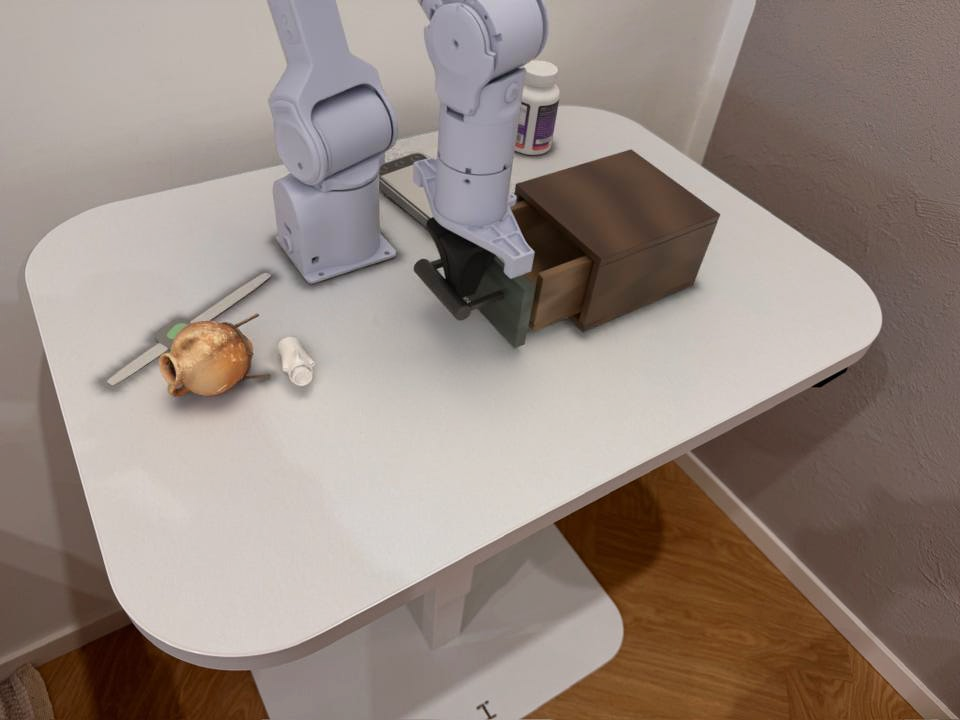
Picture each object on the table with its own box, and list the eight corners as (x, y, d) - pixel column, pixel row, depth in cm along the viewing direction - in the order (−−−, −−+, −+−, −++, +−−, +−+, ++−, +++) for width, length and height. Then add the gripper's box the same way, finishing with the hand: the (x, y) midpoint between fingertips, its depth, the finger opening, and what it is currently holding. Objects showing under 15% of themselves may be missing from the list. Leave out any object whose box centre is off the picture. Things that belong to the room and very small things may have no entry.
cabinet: (582, 332, 69) (601, 259, 63) (504, 256, 76) (515, 183, 69) (693, 284, 75) (721, 214, 69) (612, 218, 82) (631, 148, 76)
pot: (246, 377, 64) (285, 378, 60) (156, 405, 59) (192, 409, 54) (229, 311, 63) (268, 307, 59) (136, 333, 58) (171, 331, 53)
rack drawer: (466, 369, 63) (473, 310, 58) (400, 290, 69) (401, 231, 64) (628, 301, 71) (646, 244, 66) (556, 236, 77) (567, 179, 72)
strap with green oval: (255, 263, 70) (279, 277, 69) (256, 267, 71) (279, 280, 70) (95, 371, 60) (120, 388, 59) (96, 374, 60) (121, 392, 59)
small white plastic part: (324, 346, 65) (322, 319, 62) (312, 397, 60) (309, 371, 58) (282, 342, 64) (279, 316, 62) (267, 394, 60) (263, 367, 58)
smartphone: (419, 150, 86) (505, 215, 78) (419, 158, 87) (504, 223, 79) (366, 169, 82) (450, 238, 75) (366, 177, 83) (450, 247, 76)
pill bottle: (551, 136, 93) (565, 60, 86) (550, 159, 89) (564, 81, 82) (508, 130, 93) (518, 54, 86) (505, 153, 89) (515, 74, 82)
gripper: (577, 190, 53) (547, 327, 63) (467, 100, 61) (456, 234, 71) (497, 216, 50) (479, 356, 60) (391, 118, 58) (391, 255, 68)
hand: (462, 292), depth 65 cm, fingers closed, pressing on rack drawer
